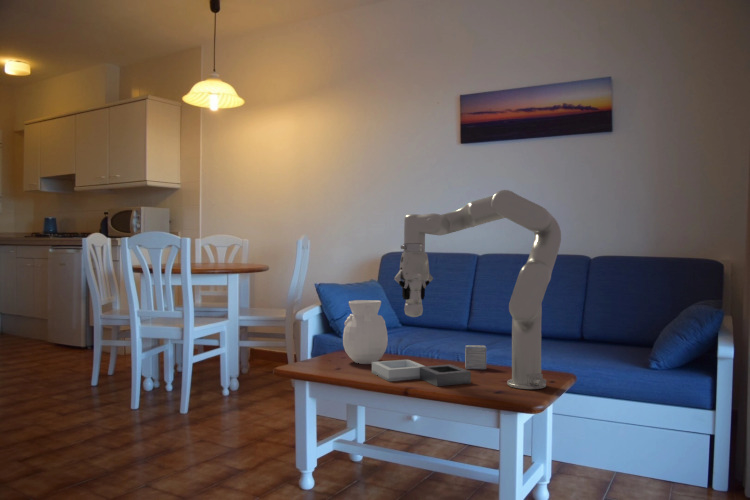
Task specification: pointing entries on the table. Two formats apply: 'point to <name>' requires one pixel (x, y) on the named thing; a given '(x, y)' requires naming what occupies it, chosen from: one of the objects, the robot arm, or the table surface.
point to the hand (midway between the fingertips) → (413, 298)
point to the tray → (397, 370)
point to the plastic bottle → (414, 297)
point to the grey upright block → (475, 357)
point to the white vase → (365, 332)
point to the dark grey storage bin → (445, 375)
